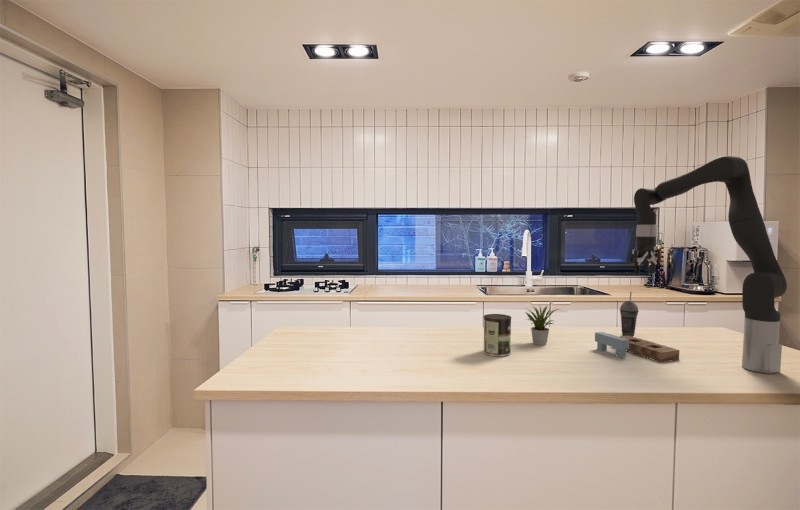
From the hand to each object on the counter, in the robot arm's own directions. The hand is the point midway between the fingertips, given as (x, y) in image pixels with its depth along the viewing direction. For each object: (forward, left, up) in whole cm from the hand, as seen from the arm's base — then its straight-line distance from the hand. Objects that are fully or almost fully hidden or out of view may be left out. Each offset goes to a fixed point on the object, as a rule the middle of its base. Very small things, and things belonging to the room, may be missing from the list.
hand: (644, 273), depth 187 cm
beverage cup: (+4, +3, -28) cm, 29 cm away
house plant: (+8, +45, -28) cm, 54 cm away
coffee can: (+3, +70, -28) cm, 76 cm away
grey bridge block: (-12, +29, -28) cm, 42 cm away
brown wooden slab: (-16, +17, -28) cm, 36 cm away
